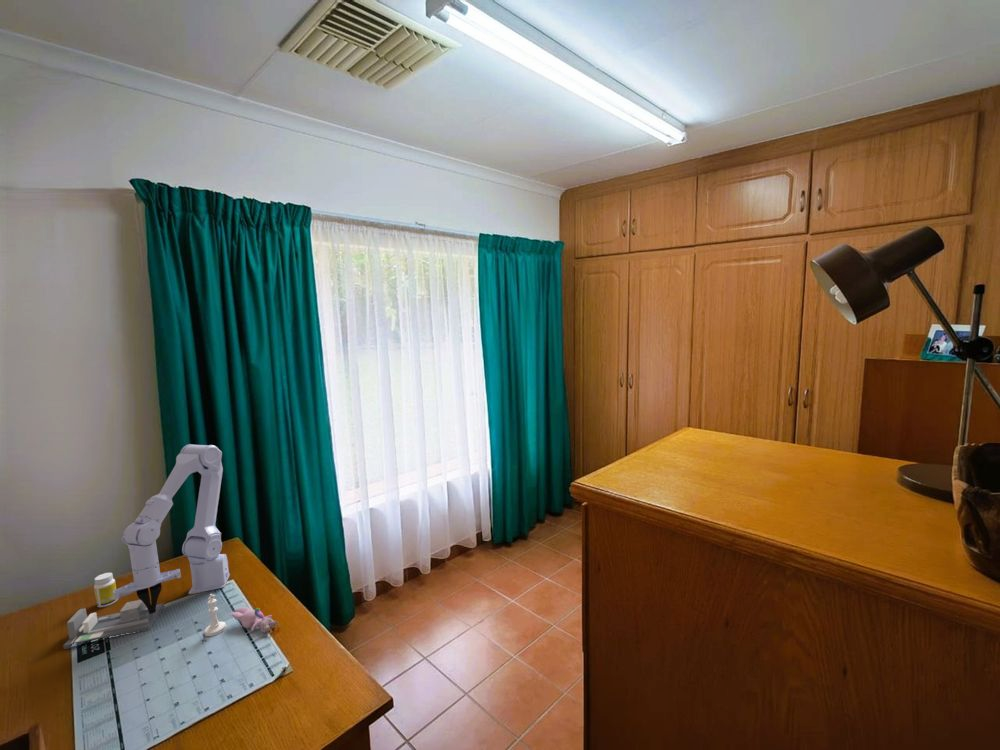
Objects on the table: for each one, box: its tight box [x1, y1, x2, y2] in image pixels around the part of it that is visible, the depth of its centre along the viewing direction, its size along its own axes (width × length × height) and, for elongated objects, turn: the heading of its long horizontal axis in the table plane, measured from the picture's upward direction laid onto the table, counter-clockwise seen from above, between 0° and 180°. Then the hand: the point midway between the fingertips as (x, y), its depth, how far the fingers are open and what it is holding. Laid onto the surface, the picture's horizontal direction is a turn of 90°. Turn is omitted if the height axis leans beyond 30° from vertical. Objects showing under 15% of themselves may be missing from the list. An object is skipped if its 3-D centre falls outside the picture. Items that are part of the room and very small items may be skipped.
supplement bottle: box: [93, 572, 119, 608], centre depth 133 cm, size 5×5×8 cm
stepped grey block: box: [108, 599, 146, 624], centre depth 122 cm, size 8×4×4 cm, turn 110°
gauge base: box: [62, 602, 165, 650], centre depth 121 cm, size 18×11×6 cm, turn 110°
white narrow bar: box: [79, 612, 98, 633], centre depth 118 cm, size 1×7×3 cm, turn 20°
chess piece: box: [204, 593, 227, 637], centre depth 118 cm, size 5×5×10 cm
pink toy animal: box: [230, 606, 281, 635], centre depth 118 cm, size 6×6×15 cm
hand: (152, 611), depth 124 cm, fingers closed
